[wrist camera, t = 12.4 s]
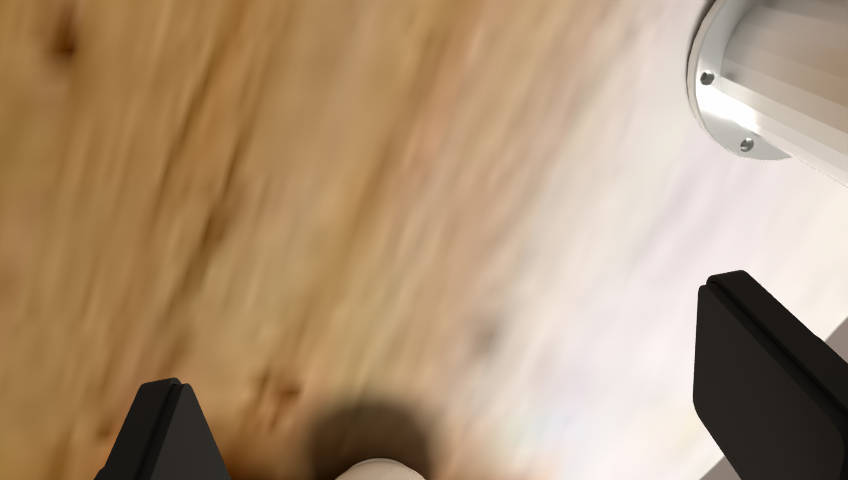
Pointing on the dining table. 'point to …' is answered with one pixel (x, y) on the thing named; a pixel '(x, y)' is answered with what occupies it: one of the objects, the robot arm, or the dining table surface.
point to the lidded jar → (380, 471)
